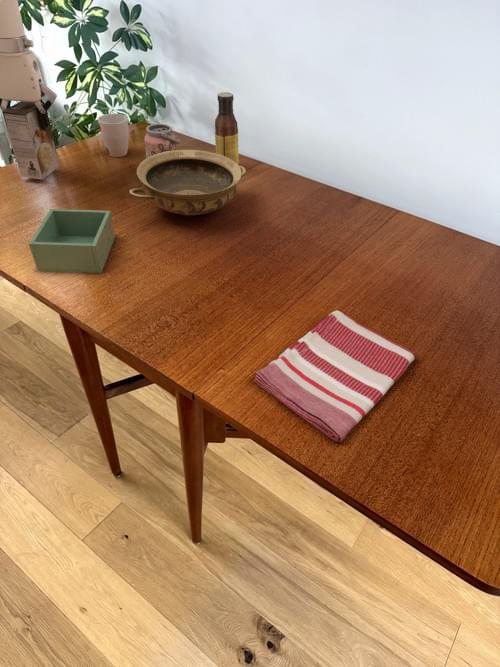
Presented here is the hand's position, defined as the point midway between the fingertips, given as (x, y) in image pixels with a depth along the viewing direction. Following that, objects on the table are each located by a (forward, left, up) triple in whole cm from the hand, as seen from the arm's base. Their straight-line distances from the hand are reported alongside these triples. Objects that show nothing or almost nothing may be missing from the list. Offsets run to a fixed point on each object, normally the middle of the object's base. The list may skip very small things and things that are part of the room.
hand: (29, 127), depth 114 cm
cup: (+17, +16, -13) cm, 27 cm away
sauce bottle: (+49, +8, -13) cm, 51 cm away
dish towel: (+69, -68, -13) cm, 97 cm away
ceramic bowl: (+41, -15, -13) cm, 45 cm away
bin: (+19, -36, -13) cm, 42 cm away
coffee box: (0, 0, -11) cm, 11 cm away
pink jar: (+32, +5, -13) cm, 34 cm away
